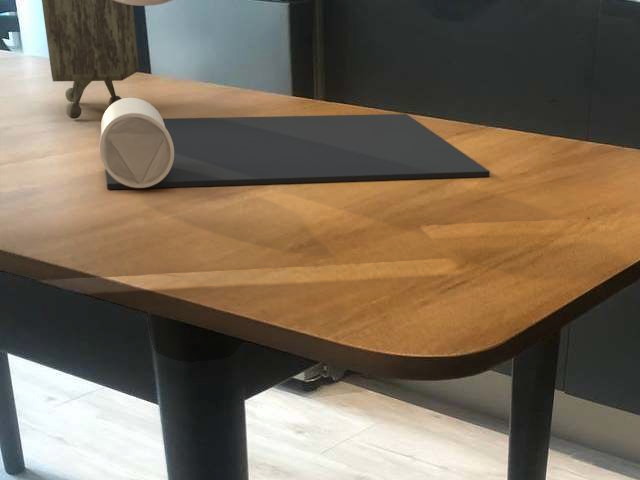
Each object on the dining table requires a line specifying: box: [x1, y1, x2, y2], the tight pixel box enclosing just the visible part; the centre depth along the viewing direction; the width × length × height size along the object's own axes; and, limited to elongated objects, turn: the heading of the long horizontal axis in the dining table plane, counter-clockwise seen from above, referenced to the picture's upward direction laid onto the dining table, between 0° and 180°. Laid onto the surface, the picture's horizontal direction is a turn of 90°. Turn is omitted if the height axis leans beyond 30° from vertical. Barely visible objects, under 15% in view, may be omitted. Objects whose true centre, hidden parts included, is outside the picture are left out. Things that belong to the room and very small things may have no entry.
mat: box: [99, 113, 491, 191], centre depth 108 cm, size 34×30×1 cm
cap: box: [98, 97, 174, 189], centre depth 93 cm, size 6×6×9 cm
